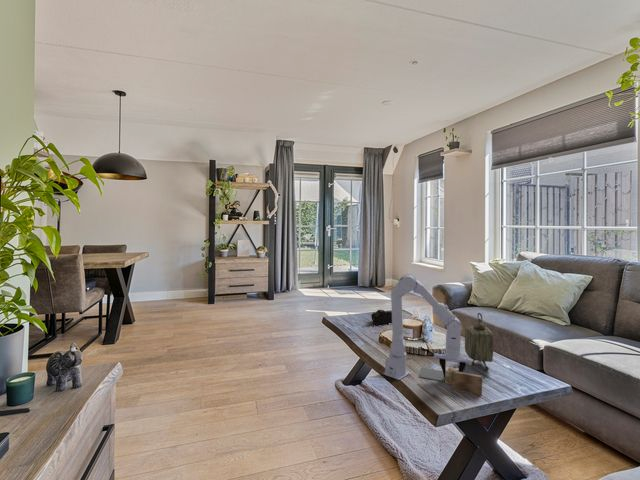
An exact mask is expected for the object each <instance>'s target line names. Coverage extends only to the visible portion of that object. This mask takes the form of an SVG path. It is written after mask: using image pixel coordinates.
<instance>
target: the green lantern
mask: <svg viewBox="0 0 640 480" xmlns="http://www.w3.org/2000/svg"><path fill="white" fill-rule="evenodd" d="M479 315H480V317H479ZM477 321H478V322H475V323H474V325H469V326H466V327H465V330H464V352H465V353H466V355H467V356H468V358H469V359H471V360H472V362H471V366H472V365H473V366H474V365H476V364H475V361H476V362H477V361H478V362H482V364H483V365H484V366H485V368H484V369H485V371H489V369H490V367H489V366H487V363H486V362H488V363H492V362H493V358H494V334H493V332H492V330H490V328H488V327H487V326H486V325H485V324H484V323H483V315H482V313H480V312H478V313H477Z"/></svg>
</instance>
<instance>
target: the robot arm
mask: <svg viewBox="0 0 640 480" xmlns="http://www.w3.org/2000/svg"><path fill="white" fill-rule="evenodd" d="M412 291H413V294H418V295H420V296H421V297H422V298H423V299H424V300H425V301H426V302H427V304H429V305H430V306H431V307H432V314H434V315H435V316H436V317H437V318H438V320H439V321H440V322H441V323H442V324H444V325H445V326H446V334H445V349H444V350H445V353H444V354H439V353H434V354H433V359H434V360H439V362H438V363H439V366H440V367H441V369H442V370H441V371H443V375H444V379H445V372H446V367H447V366H446V364H447V361H448V362H453V363H458V369H459V372H464V370H465V369H466V365H468V366H472V364H471V362H472V361H473V359H471V358H469V357H465V356H461V332H462V330H463V326H462V323H461V321H460V320H459V318H458V317H457V315H456V314H453V312H452V311H451V310H450V309H449V306H448V305H447V304H445V303H443V302H438V300H437V299H436V298H435V297H434V296H433V295H432V293H431V292H430V291H429V290H428V288H426V286H425V285H424V284H423V283H422V282H421V281H420V280H419V279H416V277H415V275H413V274H411V273H407V274H404V275H402V276H401V277H400V278H399V279H398V281H397V282H396V284H395V286H394V287H393V289H392V290H391V292H390V299H391V300H390V301H391V312H392V324H391V327H392V334H391V335H392V336H391V345H390V347H389V349H390V350H389V355H388V357H387V358H386V360H385V364H384V365H385V367H384V369H385V370H384V372H383V375H385V376H387V377H390V378H393V379H395V380H398V381H400V380H402V379H404V378H405V377H407V376H408V375H409V374H411V372H410V371H407V352H406V345H407V341H406V339H405V337H404V318H403V298H402V297H404V296H405V295H406V294H408V293H411V292H412Z"/></svg>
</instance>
